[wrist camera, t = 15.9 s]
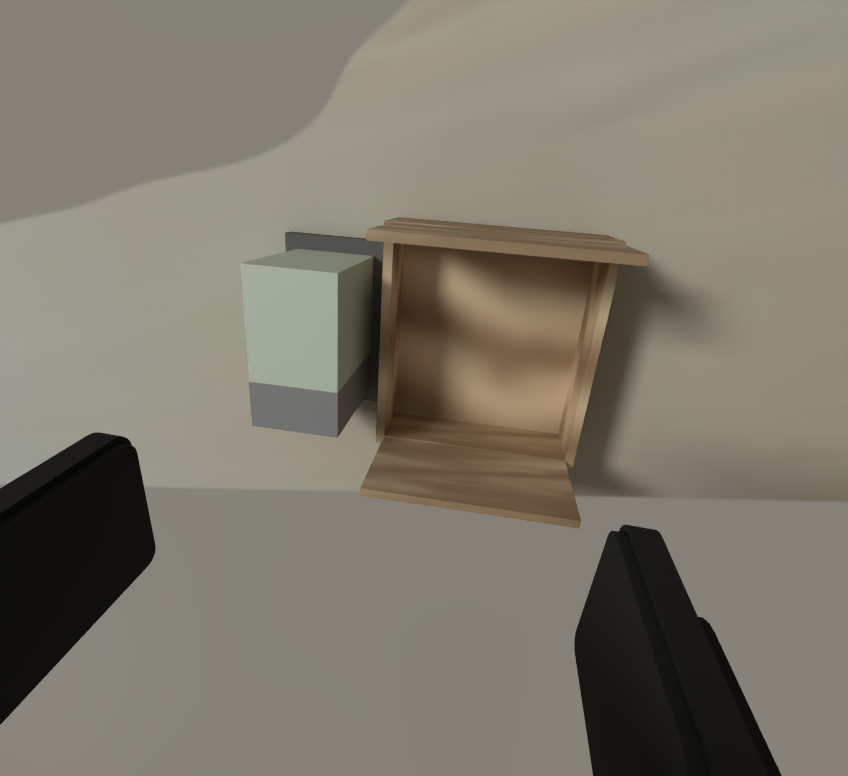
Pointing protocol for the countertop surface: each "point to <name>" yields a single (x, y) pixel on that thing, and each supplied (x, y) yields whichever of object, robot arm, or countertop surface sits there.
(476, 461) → the wooden crate
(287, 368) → the capped box
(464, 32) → the countertop surface
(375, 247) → the rubber mat
